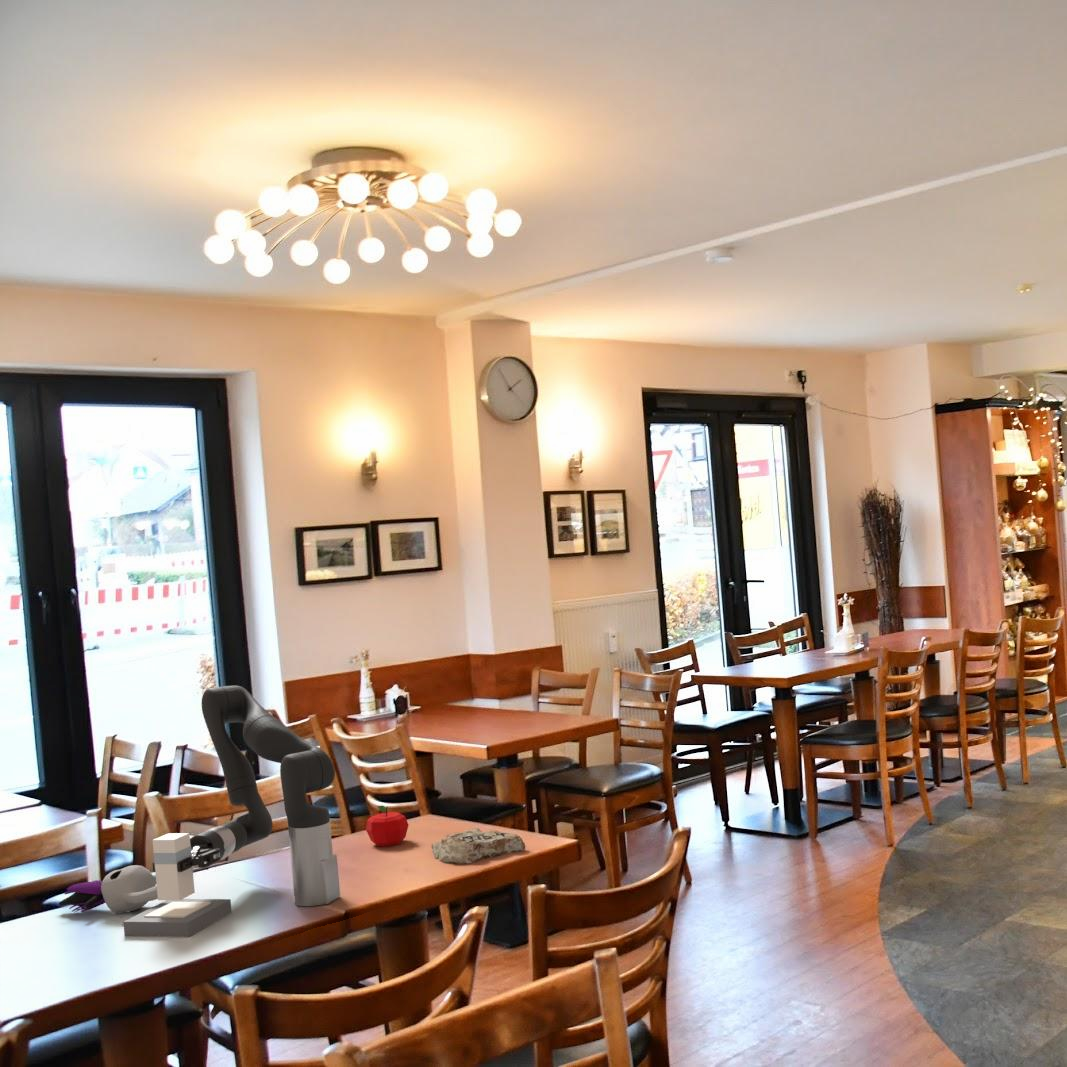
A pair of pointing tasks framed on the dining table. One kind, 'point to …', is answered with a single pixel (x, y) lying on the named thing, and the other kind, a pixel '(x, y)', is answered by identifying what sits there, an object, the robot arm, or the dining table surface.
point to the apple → (387, 828)
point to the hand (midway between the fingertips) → (166, 867)
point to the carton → (172, 866)
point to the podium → (177, 917)
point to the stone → (476, 846)
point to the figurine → (115, 891)
